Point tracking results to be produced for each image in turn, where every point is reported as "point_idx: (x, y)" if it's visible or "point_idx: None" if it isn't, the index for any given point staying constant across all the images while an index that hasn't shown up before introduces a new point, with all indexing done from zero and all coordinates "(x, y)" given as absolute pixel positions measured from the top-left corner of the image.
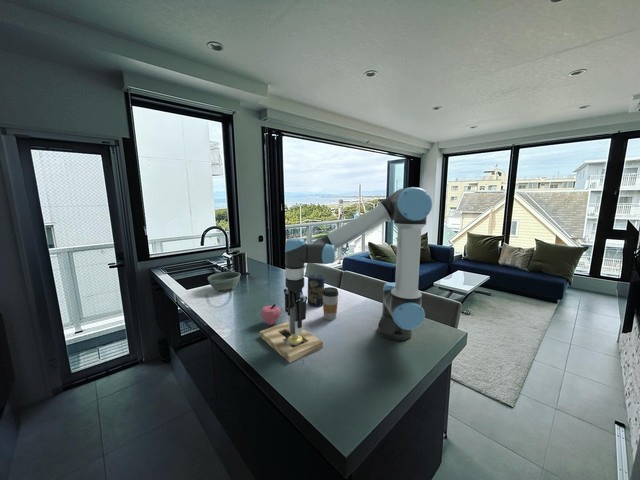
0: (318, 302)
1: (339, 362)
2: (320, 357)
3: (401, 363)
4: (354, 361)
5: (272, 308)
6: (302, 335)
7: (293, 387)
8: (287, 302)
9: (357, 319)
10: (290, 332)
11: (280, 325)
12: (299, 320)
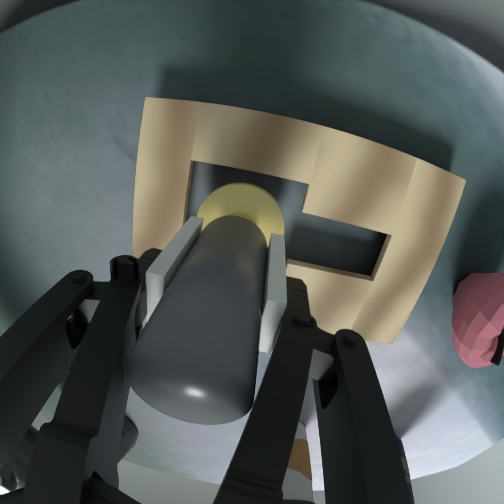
0: None
1: (52, 240)
2: (101, 220)
3: (8, 320)
4: (39, 271)
5: (497, 342)
6: None
7: (63, 38)
8: (346, 439)
9: (205, 441)
10: (247, 219)
11: (413, 288)
12: (90, 273)
